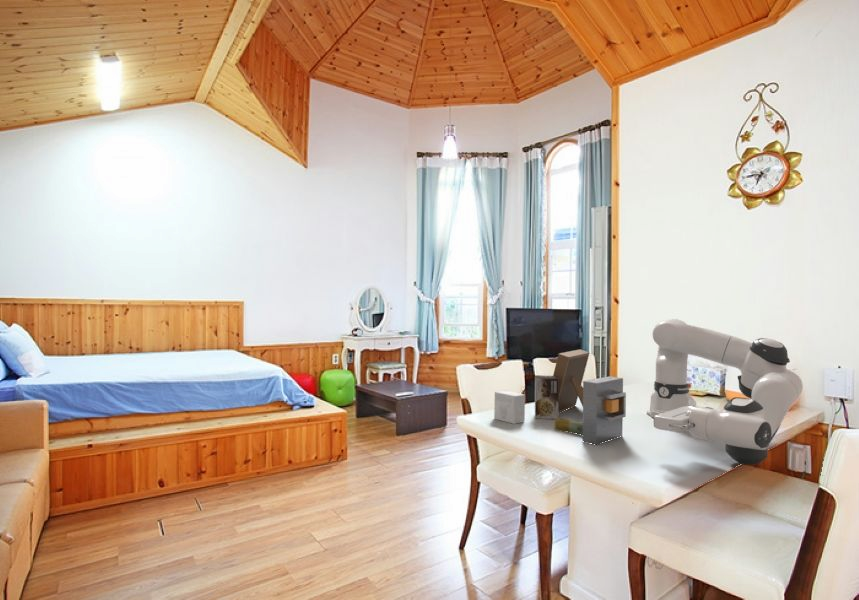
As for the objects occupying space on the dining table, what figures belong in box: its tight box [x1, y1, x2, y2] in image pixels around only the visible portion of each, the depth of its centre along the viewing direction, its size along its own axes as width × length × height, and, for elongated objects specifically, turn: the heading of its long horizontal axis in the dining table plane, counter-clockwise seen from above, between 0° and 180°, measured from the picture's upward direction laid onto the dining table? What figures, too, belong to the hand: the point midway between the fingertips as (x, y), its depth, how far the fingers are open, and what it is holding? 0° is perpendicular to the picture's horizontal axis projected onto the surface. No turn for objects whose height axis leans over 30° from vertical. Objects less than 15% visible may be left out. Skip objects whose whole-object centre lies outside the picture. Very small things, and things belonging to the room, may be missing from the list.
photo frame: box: [552, 349, 590, 414], centre depth 200 cm, size 15×22×25 cm
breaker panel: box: [582, 375, 627, 446], centre depth 161 cm, size 16×8×20 cm, turn 129°
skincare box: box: [493, 390, 526, 425], centre depth 186 cm, size 10×6×10 cm, turn 39°
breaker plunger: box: [605, 398, 619, 413], centre depth 162 cm, size 4×10×4 cm, turn 39°
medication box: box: [554, 417, 583, 436], centre depth 171 cm, size 12×3×4 cm, turn 44°
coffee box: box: [534, 374, 560, 420], centre depth 191 cm, size 9×6×16 cm
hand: (653, 413), depth 149 cm, fingers closed
